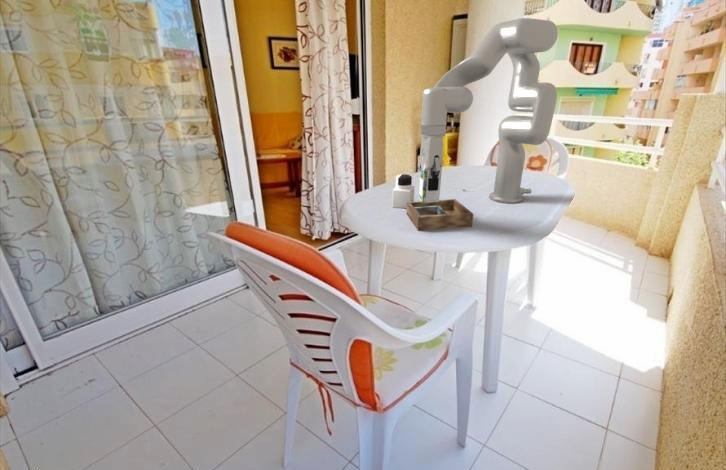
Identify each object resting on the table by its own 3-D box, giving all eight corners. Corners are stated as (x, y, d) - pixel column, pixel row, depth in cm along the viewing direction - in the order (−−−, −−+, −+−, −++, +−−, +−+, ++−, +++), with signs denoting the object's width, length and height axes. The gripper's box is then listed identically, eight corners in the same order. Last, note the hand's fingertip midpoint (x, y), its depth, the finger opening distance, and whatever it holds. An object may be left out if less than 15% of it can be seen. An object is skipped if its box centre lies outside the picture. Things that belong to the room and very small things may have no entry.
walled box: (454, 210, 125) (455, 199, 123) (471, 226, 110) (473, 213, 108) (406, 214, 123) (406, 202, 121) (417, 230, 108) (418, 217, 107)
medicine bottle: (414, 203, 134) (414, 173, 130) (410, 209, 128) (411, 178, 123) (396, 202, 137) (396, 172, 132) (392, 207, 130) (392, 177, 126)
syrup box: (418, 198, 116) (420, 155, 110) (435, 197, 116) (438, 154, 110) (422, 203, 110) (424, 158, 105) (440, 202, 111) (443, 157, 105)
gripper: (414, 128, 112) (412, 182, 119) (429, 134, 96) (426, 195, 103) (436, 128, 113) (433, 181, 120) (454, 133, 97) (449, 194, 104)
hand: (429, 187), depth 111 cm, fingers closed on syrup box, 5 cm apart
